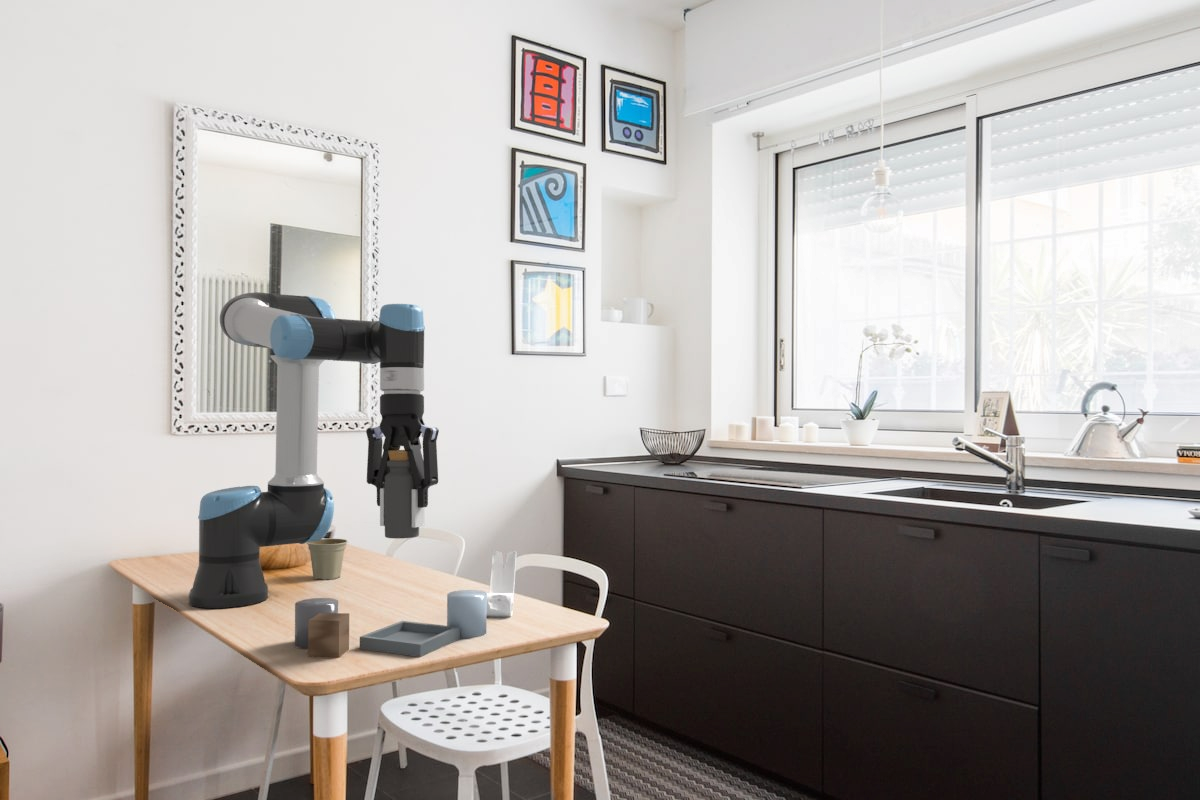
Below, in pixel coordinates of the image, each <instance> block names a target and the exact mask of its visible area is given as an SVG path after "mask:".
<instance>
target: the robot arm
mask: <svg viewBox="0 0 1200 800" xmlns="http://www.w3.org/2000/svg"><path fill="white" fill-rule="evenodd" d="M424 321H425V320H424V311H423V309H422V307H421V306H418V305H416V304H409V303H388V304H384V305H382V306H381V308H380V312H379V317H378V320H374V321H373V320H359V319H345V318H336V315H335V312H334V310H333V308H332V307H331V305H330V303H329V302H328V301H326V300H324V299H322V298H319V297H318V298H316V297H312V296H308V295H291V294H280V293H279V294H277V293H267V292H256V291H255V292H247V293H241V294H239V295H236V296H234V297H232V298H230V299H229V300H228V301H227V302H226V303H224V305H223V306H222V308H221V310H220V313H219V324H220V325H219V326H220V328H221V330H222V332H223V334H225V336H226V337H227V338H228V339H229V340H230V341H232V342H235V343H237V344H240V345H243V346H247V347H256V348H264V349H265V348H267V349H270V350H269V353H270V354H269V356H270V359H272V360H273V361H274V363H275V364H276V365H277V368H276V369H277V370H276V372H277V374H276V376H277V379H276V417H275V418H276V419H275V420H276V424H275V425H276V426H275V427H276V428H275V429H276V431H275V472H274V473H275V474H274V475H273V477H272V478H271V479H270V480H268V481H267V491H262V490H261V488H260V487H259V486H258V485H244V486H235V487H234V486H232V487H228V488H222V489H218V490H214V491H210V492H208V493H206V494H204V495H203V496H202V497H201V498H200V502H199V510H198V512H199V514H198V517H197V519H198V520H199V522H198V531H199V532H198V568H197V569H196V572H195V573H196V574H195V577H194V580H193V584H192V588H191V589H190V591H189V595H188V604H189V605H190V606H193V607H197V608H203V609H204V608H205V609H222V608H223V609H224V608H235V607H243V606H250V605H254V604H258V603H261V602H263V601H266V600H267V599H268V598H269V585H268V584H267V583H266V581H265V576H264V572H263V568H262V566H261V560H260V549H261V548H263V547H275V546H283V545H295V544H300V545H303V544H304V545H305V544H307V542H313V541H318V540H320V539H324V537H325V536H326V535H327V534H328V532H329V530H330V529H331V526H332V523H333V518H334V514H335V513H334V512H335V503H334V500H333V498H334V497H333V494H332V493H331V491H330V490H329V489H328V488H325V487H324V485H325V483H324V482H325V481H324V480H323V479H322V478H321V477H319V475H318V473H317V472H318V437H319V435H318V433H319V432H318V426H319V425H318V423H319V387H320V385H319V381H320V379H319V377H320V366H321V364H323V362H324V361H333V362H334V361H337V362H339V361H340V362H354V363H355V362H358V363H360V364H372V365H376V364H378V363H379V374H380V375H379V377H380V378H379V390H380V391H381V392H383V394H380V396H379V414H380V415H381V421H380V423H379V425H378V426H375V427H368V428H366V431H365V433H366V436H367V442H368V443H367V444H368V445H367V446H368V447H367V469H366V483H367V484H368V485H372V486H375V488H376V504H377V507H379V526H380V527H385V476H386V475H387V474H388V473H390V467H388V466H387V461H389V460H390V458H389V454H388V451H389V450H401V447H403V448H404V449H403V450H405V451H407V455H408V458H409V462H410V466H411V470H412V474H413V478H414V482H415V486H414V487H413V488H414V489H412V527H414V528H416V527H419V528H420V527H424V526H425V508H428V504H429V501H428V500H429V499H428V498H429V488H430V487H432V486H434V485H435V486H436V485H438V483H439V469H438V468H439V467H438V451H437V449H438V448H437V440H438V436H439V428H438V427H431V426H427V425H426V423H425V422H424V418H423V415H424V414H425V396H423V394H421V392H423V391H424V390H425V367H424V366H425V365H424V364H425V363H424V362H425V329H426V328H425V324H424V323H425V322H424ZM383 437H384V441H383ZM420 437H422V444H421V441H420Z"/></svg>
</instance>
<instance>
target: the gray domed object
mask: <svg viewBox="0 0 1200 800" xmlns="http://www.w3.org/2000/svg"><path fill="white" fill-rule="evenodd" d="M319 613H339V600H338V599H336V598H330V597H315V598H312V597H311V598H307V599H306V598H305V599H301V600H298V601H296V602H295V603H294V647H296V648H297V649H301V650H302V649H304V650H308V624H309V620H310V619H311V618H313V617H315V616H316V615H318V614H319Z"/></svg>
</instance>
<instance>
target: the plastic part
mask: <svg viewBox="0 0 1200 800" xmlns="http://www.w3.org/2000/svg"><path fill="white" fill-rule="evenodd" d="M491 556H492V557H491V570H490V581H489V592H486V593H487V617H491V618H492V617H494V618H497V617H499V618H500V617H504V618H505V617H506V618H508V617H509V618H510V617H512V616H513V613H514V612H513V611H514V601H515V600H514V597H515V585H516V584H515V582H516V569H517V568H516V567H517V566H516V564H517V550H511V551H508V552H507V554H506V560H505V563H504V565H503V554H502V551H497V550H495V549H494V550H492V555H491Z"/></svg>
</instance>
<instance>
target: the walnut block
mask: <svg viewBox="0 0 1200 800" xmlns="http://www.w3.org/2000/svg"><path fill="white" fill-rule="evenodd" d="M349 650H350V613H343V612H342V613H341V612H338V613H319V614H318V615H316V616H315V617H313V618H311V619H310V620H309V624H308V649H307V652H308V653H307V654H308V656H307V658H310V659H311V658H312V659H314V658H318V659H319V658H321V659H322V658H325V659H326V658H329V659H340V658H342V656H343V655H345V654H346V653H347V652H348V651H349Z"/></svg>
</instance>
